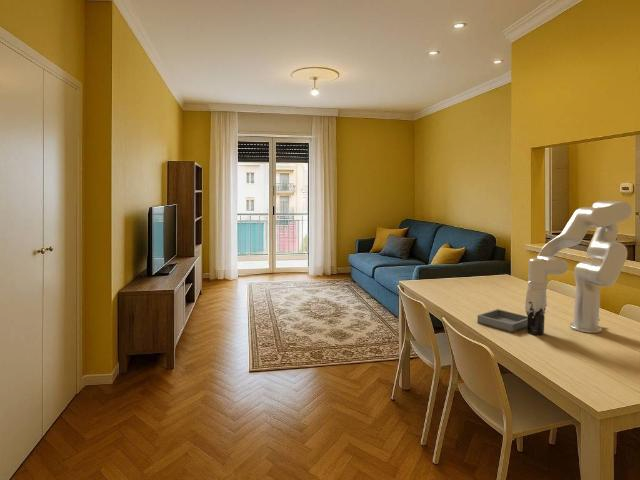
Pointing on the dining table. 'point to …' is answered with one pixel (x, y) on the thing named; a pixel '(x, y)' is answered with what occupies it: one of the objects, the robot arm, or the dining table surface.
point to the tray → (503, 320)
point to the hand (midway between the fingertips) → (535, 323)
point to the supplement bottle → (537, 324)
